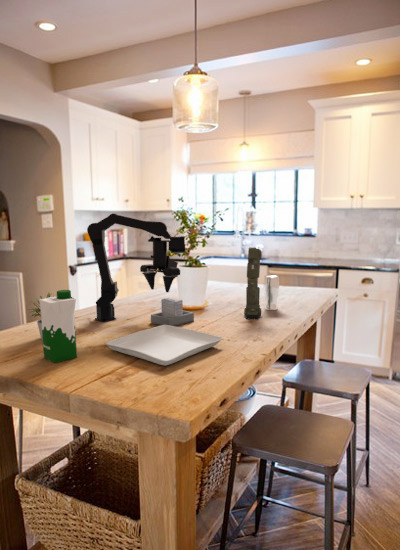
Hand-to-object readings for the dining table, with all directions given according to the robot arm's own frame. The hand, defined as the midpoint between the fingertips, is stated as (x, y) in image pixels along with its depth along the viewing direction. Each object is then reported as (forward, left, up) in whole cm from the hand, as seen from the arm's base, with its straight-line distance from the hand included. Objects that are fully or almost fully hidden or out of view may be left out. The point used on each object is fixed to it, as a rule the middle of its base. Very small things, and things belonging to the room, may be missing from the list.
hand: (159, 290), depth 166 cm
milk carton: (-52, -12, -12) cm, 55 cm away
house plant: (-44, +11, -12) cm, 47 cm away
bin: (-1, -8, -12) cm, 14 cm away
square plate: (-26, -30, -12) cm, 42 cm away
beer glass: (+45, -25, -12) cm, 53 cm away
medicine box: (-1, -8, -11) cm, 14 cm away
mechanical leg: (+29, -26, -12) cm, 41 cm away
